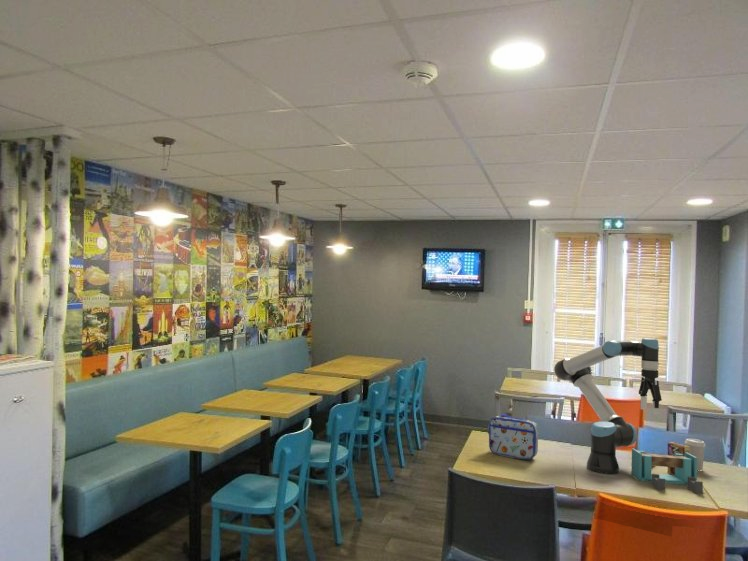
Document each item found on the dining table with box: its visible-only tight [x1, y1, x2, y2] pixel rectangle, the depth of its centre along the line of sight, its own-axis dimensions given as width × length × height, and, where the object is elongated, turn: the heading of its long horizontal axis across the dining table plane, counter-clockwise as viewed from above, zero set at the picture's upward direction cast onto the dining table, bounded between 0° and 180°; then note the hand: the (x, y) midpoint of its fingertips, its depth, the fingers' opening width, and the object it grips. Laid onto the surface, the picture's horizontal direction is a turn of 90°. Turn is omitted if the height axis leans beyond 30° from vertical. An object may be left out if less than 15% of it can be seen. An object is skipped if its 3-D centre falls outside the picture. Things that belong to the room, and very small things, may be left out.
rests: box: [651, 473, 704, 495], centre depth 228 cm, size 19×7×5 cm, turn 83°
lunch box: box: [486, 413, 539, 461], centre depth 271 cm, size 28×10×22 cm, turn 58°
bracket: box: [631, 447, 698, 486], centre depth 241 cm, size 26×9×13 cm, turn 83°
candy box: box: [667, 441, 689, 475], centre depth 250 cm, size 9×4×15 cm, turn 26°
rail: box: [642, 453, 687, 468], centre depth 241 cm, size 22×4×4 cm, turn 83°
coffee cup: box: [684, 438, 707, 472], centre depth 261 cm, size 10×10×15 cm
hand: (649, 411), depth 247 cm, fingers open, 13 cm apart
